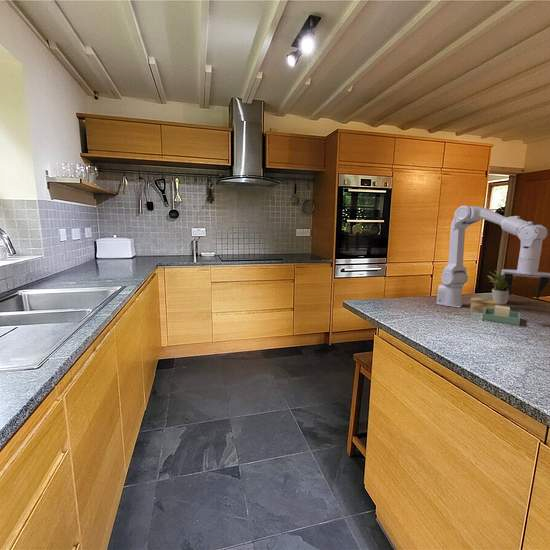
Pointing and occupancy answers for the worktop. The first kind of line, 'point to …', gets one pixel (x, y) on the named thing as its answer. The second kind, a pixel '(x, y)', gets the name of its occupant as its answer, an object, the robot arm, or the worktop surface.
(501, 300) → the house plant
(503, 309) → the sandstone cube
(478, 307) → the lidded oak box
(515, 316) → the tray
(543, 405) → the worktop surface
